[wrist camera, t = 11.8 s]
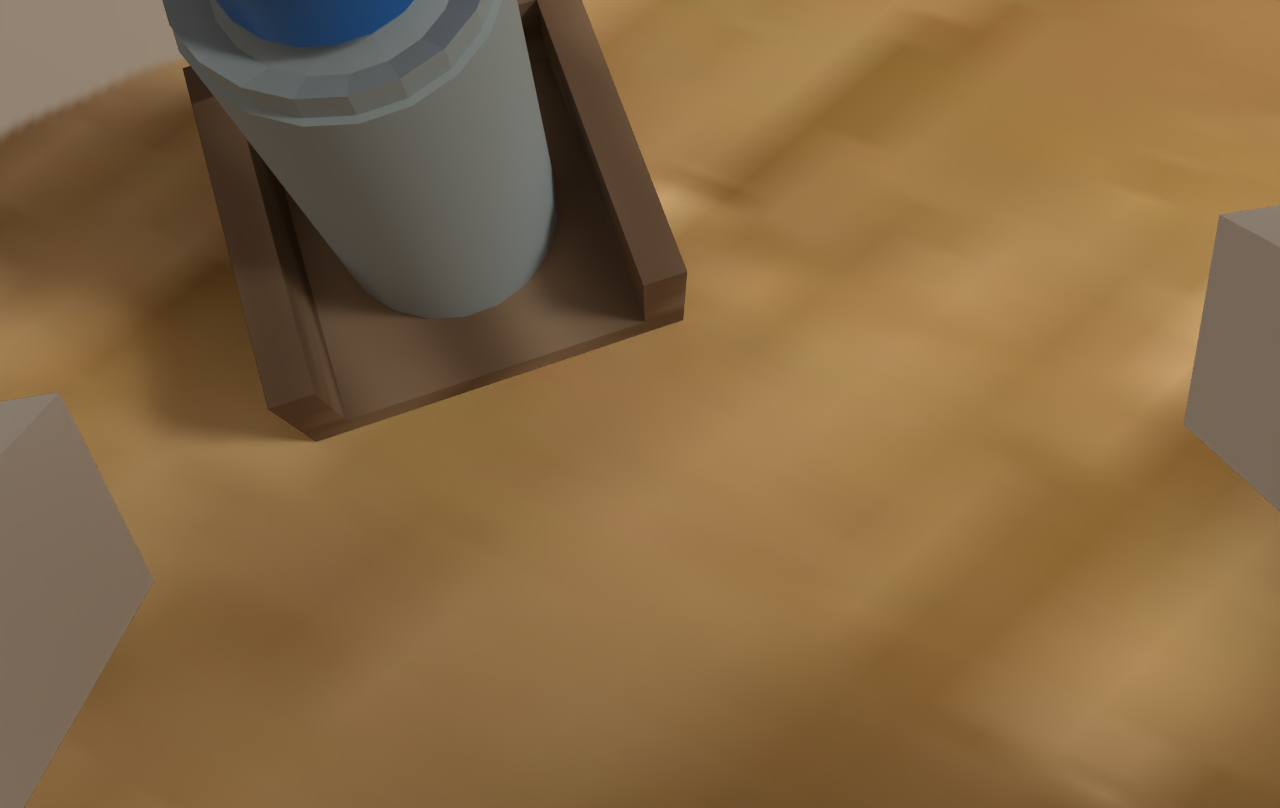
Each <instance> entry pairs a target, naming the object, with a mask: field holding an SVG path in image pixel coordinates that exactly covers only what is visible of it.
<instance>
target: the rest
mask: <svg viewBox="0 0 1280 808" xmlns="http://www.w3.org/2000/svg"><path fill="white" fill-rule="evenodd" d="M517 2H518V7H519V12H520V17H521V22H522V26H523V31H524V36H525V41H526V46H527V51H528V55H529V60H530V65H531V70H532V75H533V80H534V85H535V89H536V94H537V99H538V104H539V109H540V114H541V119H542V123H543V128H544V133H545V138H546V143H547V148H548V152H549V157H550V162H551V167H552V172H553V177H554V182H555V186H556V191H557V220H558V225H557V228H556V231H555V234H554V237H553V240H552V243H551V246H550V250H549V253H548V256H547V257H546V258H545V260H544V261H543V263H542V264H541V265H540V267H539V268H538V269H537V271H536V272H535V273H534V275H533V276H532V278H531V279H530V280H529V282H528V283H527V284H526V285H524V286H523V287H522V288H520V289H519V290H518V291H516V292H515V293H514V294H512V295H511V296H510V297H508V298H507V299H505V300H504V301H503V302H501V303H500V304H499V305H496V306H493V307H491V308H488V309H485V310H482V311H480V312H477V313H474V314H471V315H468V316H466V317H455V318H436V319H426V318H422V317H418V316H414V315H411V314H407V313H403V312H399V311H395V310H393V309H391V308H389V307H388V306H386V305H385V304H383V303H382V302H380V301H378V300H377V299H375V298H374V297H372V296H371V295H369V294H367V293H366V292H365V291H364V290H363V289H362V287H361V286H360V285H359V284H358V282H357V281H356V280H355V278H354V277H353V276H352V275H351V273H350V272H349V271H348V269H347V268H346V267H345V266H344V264H343V263H342V262H341V260H340V259H339V258H338V257H337V255H336V254H335V253H334V251H333V250H332V249H331V247H330V246H329V245H328V244H327V242H326V241H325V240H324V238H323V237H322V236H321V235H320V233H319V232H318V231H317V229H316V228H315V227H314V225H313V224H312V223H311V222H310V220H309V219H308V218H307V216H306V215H305V214H304V212H303V211H302V210H301V209H300V207H299V206H298V205H297V203H296V202H295V201H294V199H293V198H292V197H291V196H290V194H289V193H288V192H287V190H286V189H285V188H284V186H283V185H282V184H281V183H280V181H279V180H278V179H277V177H276V176H275V175H274V174H273V172H272V171H271V170H270V168H269V167H268V166H267V164H266V163H265V162H264V161H263V159H262V158H261V157H260V155H259V154H258V153H257V151H256V150H255V149H254V148H253V146H252V145H251V144H250V142H249V141H248V140H247V138H246V137H245V136H244V135H243V133H242V132H241V131H240V129H239V128H238V127H237V126H236V124H235V123H234V122H233V120H232V119H231V118H230V116H229V115H228V114H227V113H226V111H225V110H224V109H223V107H222V106H221V105H220V103H219V102H218V101H217V100H216V98H215V97H214V96H213V94H212V93H211V92H210V90H209V89H208V88H207V87H206V85H205V84H204V83H203V81H202V80H201V79H200V78H199V76H198V75H197V74H196V72H195V71H194V70H193V68H192V67H191V66H189V67H185V68H183V71H184V75H185V79H186V83H187V87H188V91H189V95H190V99H191V103H192V107H193V111H194V115H195V119H196V123H197V127H198V131H199V135H200V139H201V143H202V147H203V151H204V155H205V159H206V163H207V167H208V171H209V175H210V179H211V183H212V187H213V191H214V195H215V199H216V203H217V207H218V211H219V215H220V219H221V223H222V227H223V231H224V235H225V239H226V243H227V247H228V251H229V255H230V259H231V263H232V267H233V271H234V275H235V279H236V283H237V287H238V291H239V295H240V299H241V303H242V307H243V311H244V315H245V319H246V323H247V327H248V331H249V335H250V339H251V343H252V347H253V351H254V355H255V359H256V363H257V367H258V371H259V375H260V379H261V383H262V387H263V391H264V395H265V399H266V403H267V407H268V409H269V410H270V411H272V412H273V413H275V414H276V415H278V416H279V417H281V418H282V419H283V420H285V421H286V422H288V423H289V424H291V425H292V426H294V427H295V428H297V429H298V430H300V431H301V432H303V433H304V434H306V435H307V436H309V437H310V438H312V439H313V440H315V441H316V442H317V441H320V440H323V439H326V438H329V437H332V436H335V435H338V434H341V433H344V432H347V431H350V430H353V429H356V428H359V427H362V426H365V425H368V424H371V423H374V422H377V421H380V420H383V419H386V418H389V417H392V416H395V415H398V414H401V413H404V412H407V411H410V410H413V409H416V408H419V407H422V406H425V405H428V404H431V403H434V402H437V401H440V400H443V399H446V398H449V397H452V396H455V395H458V394H461V393H464V392H467V391H470V390H473V389H476V388H479V387H482V386H485V385H488V384H491V383H494V382H497V381H500V380H503V379H506V378H509V377H512V376H515V375H518V374H521V373H525V372H528V371H531V370H534V369H537V368H540V367H543V366H546V365H549V364H552V363H555V362H558V361H561V360H564V359H567V358H570V357H573V356H576V355H579V354H582V353H585V352H588V351H591V350H594V349H597V348H600V347H603V346H606V345H609V344H612V343H615V342H618V341H621V340H624V339H627V338H630V337H633V336H636V335H639V334H642V333H645V332H648V331H651V330H654V329H657V328H660V327H663V326H666V325H669V324H672V323H675V322H678V321H681V320H683V315H684V303H685V291H686V279H687V270H686V268H685V265H684V262H683V260H682V257H681V255H680V252H679V250H678V247H677V244H676V242H675V239H674V237H673V234H672V232H671V229H670V226H669V224H668V221H667V219H666V216H665V214H664V211H663V208H662V206H661V203H660V201H659V198H658V195H657V193H656V190H655V188H654V185H653V183H652V180H651V177H650V175H649V172H648V170H647V167H646V165H645V162H644V159H643V157H642V154H641V152H640V149H639V147H638V144H637V141H636V139H635V136H634V134H633V131H632V129H631V126H630V123H629V121H628V118H627V116H626V113H625V111H624V108H623V105H622V103H621V100H620V98H619V95H618V93H617V90H616V87H615V85H614V82H613V80H612V77H611V74H610V72H609V69H608V67H607V64H606V62H605V59H604V56H603V54H602V51H601V49H600V46H599V44H598V41H597V38H596V36H595V33H594V31H593V28H592V26H591V23H590V20H589V18H588V15H587V13H586V10H585V8H584V5H583V2H582V0H517Z"/></svg>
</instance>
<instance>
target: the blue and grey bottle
mask: <svg viewBox="0 0 1280 808" xmlns="http://www.w3.org/2000/svg"><path fill="white" fill-rule="evenodd" d="M163 4H164V7H165V11H166V14H167V17H168V21H169V24H170V26H171V27H172V29H173V32H174V35H175V39H176V43H177V46H178V49H179V52H180V53H181V54H182V55H183V57H184V58H185V59H186V61H187V62H188V63H189V65H190V66H191V67H192V68H193V70H194V71H195V72H196V74H197V75H198V76H199V78H200V79H201V80H202V81H203V83H204V84H205V85H206V87H207V88H208V89H209V90H210V92H211V93H212V94H213V96H214V97H215V98H216V100H217V101H218V102H219V103H220V105H221V106H222V107H223V109H224V110H225V111H226V113H227V114H228V115H229V116H230V118H231V119H232V120H233V122H234V123H235V124H236V126H237V127H238V128H239V129H240V131H241V132H242V133H243V135H244V136H245V137H246V138H247V140H248V141H249V142H250V144H251V145H252V146H253V148H254V149H255V150H256V151H257V153H258V154H259V155H260V157H261V158H262V159H263V161H264V162H265V163H266V164H267V166H268V167H269V168H270V170H271V171H272V172H273V174H274V175H275V176H276V177H277V179H278V180H279V181H280V183H281V184H282V185H283V186H284V188H285V189H286V190H287V192H288V193H289V194H290V196H291V197H292V198H293V199H294V201H295V202H296V203H297V205H298V206H299V207H300V209H301V210H302V211H303V212H304V214H305V215H306V216H307V218H308V219H309V220H310V222H311V223H312V224H313V225H314V227H315V228H316V229H317V231H318V232H319V233H320V235H321V236H322V237H323V238H324V240H325V241H326V242H327V244H328V245H329V246H330V247H331V249H332V250H333V251H334V253H335V254H336V255H337V257H338V258H339V259H340V260H341V262H342V263H343V264H344V266H345V267H346V268H347V269H348V271H349V272H350V273H351V275H352V276H353V277H354V278H355V280H356V281H357V282H358V284H359V285H360V286H361V287H362V289H363V290H364V291H365V292H366V293H367V294H369V295H371V296H372V297H374V298H375V299H377V300H378V301H380V302H382V303H383V304H385V305H386V306H388V307H389V308H391V309H393V310H395V311H399V312H403V313H407V314H411V315H414V316H418V317H422V318H426V319H436V318H455V317H466V316H468V315H471V314H474V313H477V312H480V311H482V310H485V309H488V308H491V307H493V306H496V305H499V304H500V303H501V302H503V301H504V300H505V299H507V298H508V297H510V296H511V295H512V294H514V293H515V292H516V291H518V290H519V289H520V288H522V287H523V286H524V285H526V284H527V283H528V282H529V280H530V279H531V278H532V276H533V275H534V273H535V272H536V271H537V269H538V268H539V267H540V265H541V264H542V263H543V261H544V260H545V258H546V257H547V256H548V253H549V250H550V246H551V243H552V240H553V237H554V234H555V231H556V228H557V225H558V220H557V191H556V186H555V182H554V177H553V172H552V167H551V162H550V157H549V152H548V148H547V143H546V138H545V133H544V128H543V123H542V119H541V114H540V109H539V104H538V99H537V94H536V89H535V85H534V80H533V75H532V70H531V65H530V60H529V55H528V51H527V46H526V41H525V36H524V31H523V26H522V22H521V17H520V12H519V7H518V2H517V0H163Z"/></svg>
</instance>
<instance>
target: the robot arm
mask: <svg viewBox="0 0 1280 808" xmlns="http://www.w3.org/2000/svg"><path fill="white" fill-rule="evenodd" d="M1184 426H1186V427H1187V428H1188V429H1189V430H1190V431H1191V432H1192V433H1193V434H1194V435H1196V436H1197V437H1198V438H1199V439H1200V440H1201V441H1202V442H1203V443H1204V444H1205V445H1207V446H1208V447H1209V448H1210V449H1211V450H1212V451H1213V452H1214V453H1215V454H1217V455H1218V456H1219V457H1220V458H1221V459H1222V460H1223V461H1224V462H1225V463H1226V464H1228V465H1229V466H1230V467H1231V468H1232V469H1233V470H1234V471H1235V472H1236V473H1238V474H1239V475H1240V476H1241V477H1242V478H1243V479H1244V480H1245V481H1246V482H1247V483H1249V484H1250V485H1251V486H1252V487H1253V488H1254V489H1255V490H1256V491H1257V492H1259V493H1260V494H1261V495H1262V496H1263V497H1264V498H1265V499H1266V500H1267V501H1269V502H1270V503H1271V504H1272V505H1273V506H1274V507H1275V508H1276V509H1277V510H1278V511H1280V205H1279V206H1273V207H1266V208H1260V209H1253V210H1247V211H1240V212H1234V213H1227V214H1221V215H1219V220H1218V226H1217V232H1216V238H1215V244H1214V250H1213V256H1212V261H1211V267H1210V273H1209V279H1208V285H1207V291H1206V297H1205V302H1204V308H1203V314H1202V320H1201V326H1200V332H1199V338H1198V343H1197V349H1196V355H1195V361H1194V367H1193V373H1192V379H1191V385H1190V390H1189V396H1188V402H1187V408H1186V414H1185V420H1184ZM153 582H154V580H153V578H152V576H151V574H150V572H149V570H148V568H147V566H146V564H145V562H144V560H143V558H142V556H141V554H140V552H139V550H138V548H137V546H136V544H135V542H134V540H133V538H132V536H131V534H130V532H129V530H128V528H127V526H126V524H125V522H124V520H123V518H122V516H121V514H120V512H119V510H118V508H117V506H116V504H115V502H114V500H113V498H112V496H111V494H110V492H109V490H108V488H107V486H106V484H105V482H104V480H103V478H102V476H101V474H100V472H99V470H98V468H97V466H96V464H95V462H94V460H93V458H92V456H91V454H90V452H89V450H88V448H87V446H86V444H85V442H84V440H83V438H82V436H81V434H80V432H79V430H78V428H77V426H76V424H75V422H74V420H73V418H72V416H71V414H70V412H69V410H68V408H67V406H66V404H65V402H64V400H63V398H62V396H61V394H60V392H59V393H53V394H46V395H40V396H33V397H27V398H20V399H13V400H7V401H0V808H24V807H25V805H26V803H27V802H28V800H29V798H30V796H31V795H32V793H33V791H34V789H35V788H36V786H37V784H38V783H39V781H40V779H41V777H42V776H43V774H44V772H45V770H46V769H47V767H48V765H49V763H50V762H51V760H52V758H53V756H54V755H55V753H56V751H57V749H58V748H59V746H60V744H61V742H62V741H63V739H64V737H65V735H66V734H67V732H68V730H69V728H70V727H71V725H72V723H73V721H74V720H75V718H76V716H77V715H78V713H79V711H80V709H81V708H82V706H83V704H84V702H85V701H86V699H87V697H88V695H89V694H90V692H91V690H92V688H93V687H94V685H95V683H96V681H97V680H98V678H99V676H100V674H101V673H102V671H103V669H104V667H105V666H106V664H107V662H108V660H109V659H110V657H111V655H112V653H113V652H114V650H115V648H116V647H117V645H118V643H119V641H120V640H121V638H122V636H123V634H124V633H125V631H126V629H127V627H128V626H129V624H130V622H131V620H132V619H133V617H134V615H135V613H136V612H137V610H138V608H139V606H140V605H141V603H142V601H143V599H144V598H145V596H146V594H147V592H148V591H149V589H150V587H151V585H152V584H153Z"/></svg>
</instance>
